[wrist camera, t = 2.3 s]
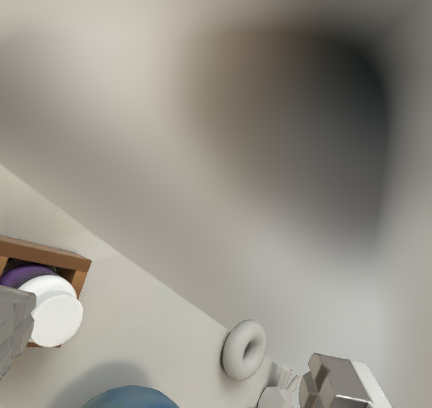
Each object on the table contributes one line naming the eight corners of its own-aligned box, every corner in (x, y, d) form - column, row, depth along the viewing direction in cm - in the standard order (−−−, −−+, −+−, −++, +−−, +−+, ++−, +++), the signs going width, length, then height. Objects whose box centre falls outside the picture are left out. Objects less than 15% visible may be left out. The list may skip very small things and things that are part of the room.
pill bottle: (-29, 279, 29) (3, 317, 23) (32, 246, 33) (76, 271, 26) (2, 325, 31) (39, 372, 25) (56, 290, 35) (102, 324, 28)
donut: (210, 350, 53) (229, 387, 58) (226, 359, 51) (245, 397, 55) (245, 305, 59) (261, 341, 64) (261, 311, 57) (276, 349, 61)
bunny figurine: (252, 450, 58) (296, 370, 62) (231, 429, 61) (274, 356, 66) (273, 459, 63) (312, 386, 68) (253, 440, 67) (291, 372, 72)
